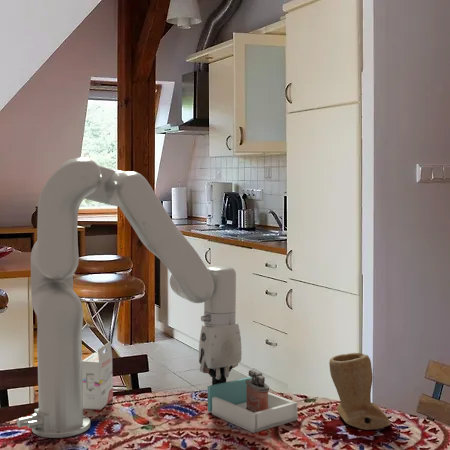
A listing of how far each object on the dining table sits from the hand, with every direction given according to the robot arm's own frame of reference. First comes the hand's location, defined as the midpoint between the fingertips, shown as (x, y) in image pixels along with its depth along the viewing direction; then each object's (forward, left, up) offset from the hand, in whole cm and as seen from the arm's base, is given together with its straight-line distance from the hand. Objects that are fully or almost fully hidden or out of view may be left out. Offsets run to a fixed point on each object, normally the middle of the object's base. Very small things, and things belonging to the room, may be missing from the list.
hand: (219, 393), depth 167 cm
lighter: (+2, -12, -3) cm, 13 cm away
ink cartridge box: (-22, +20, -4) cm, 30 cm away
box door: (+2, -2, -3) cm, 4 cm away
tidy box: (+2, -11, -3) cm, 11 cm away
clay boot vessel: (+19, -27, -4) cm, 33 cm away
